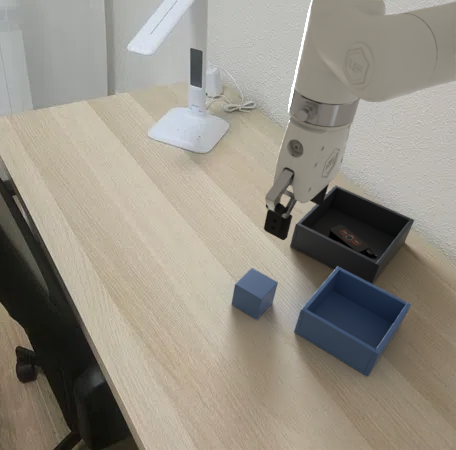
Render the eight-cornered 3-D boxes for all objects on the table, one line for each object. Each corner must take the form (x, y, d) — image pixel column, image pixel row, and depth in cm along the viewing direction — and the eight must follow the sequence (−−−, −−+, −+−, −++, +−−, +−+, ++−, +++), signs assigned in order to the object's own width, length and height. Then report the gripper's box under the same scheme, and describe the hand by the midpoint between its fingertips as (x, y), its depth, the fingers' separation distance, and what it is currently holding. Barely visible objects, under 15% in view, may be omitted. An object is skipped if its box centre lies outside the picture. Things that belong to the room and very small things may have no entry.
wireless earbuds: (356, 270, 88) (361, 255, 86) (324, 243, 92) (329, 229, 90) (376, 260, 90) (382, 245, 87) (344, 234, 94) (349, 220, 92)
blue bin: (400, 326, 80) (411, 304, 77) (367, 377, 73) (378, 354, 70) (329, 288, 85) (337, 265, 82) (293, 332, 79) (300, 309, 75)
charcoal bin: (404, 242, 94) (414, 219, 91) (370, 288, 86) (379, 265, 82) (328, 206, 101) (335, 184, 97) (289, 246, 92) (295, 223, 89)
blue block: (272, 302, 83) (278, 282, 80) (256, 320, 80) (261, 299, 77) (247, 287, 85) (251, 267, 82) (231, 304, 82) (234, 283, 79)
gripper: (315, 145, 56) (284, 263, 68) (385, 88, 67) (348, 199, 78) (254, 119, 60) (234, 235, 71) (329, 69, 70) (301, 177, 81)
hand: (294, 216), depth 75 cm, fingers open, 9 cm apart
